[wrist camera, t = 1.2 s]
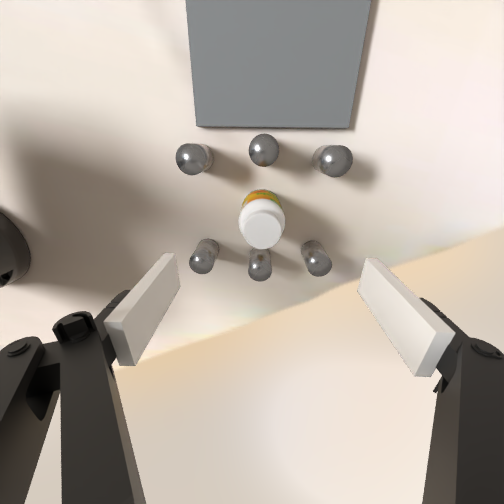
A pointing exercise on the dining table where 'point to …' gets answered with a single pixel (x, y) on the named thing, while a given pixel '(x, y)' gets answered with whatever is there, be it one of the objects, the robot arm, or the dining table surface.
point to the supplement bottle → (261, 219)
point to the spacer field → (263, 154)
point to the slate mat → (275, 61)
